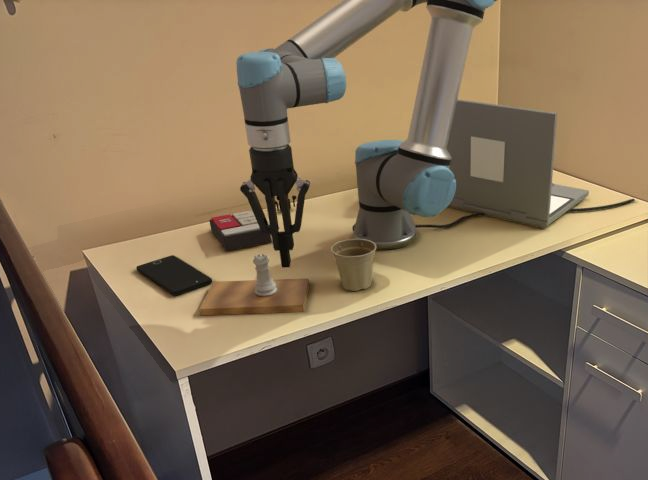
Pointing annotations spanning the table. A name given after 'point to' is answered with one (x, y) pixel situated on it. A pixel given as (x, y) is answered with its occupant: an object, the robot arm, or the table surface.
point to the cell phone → (174, 275)
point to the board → (255, 297)
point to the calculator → (238, 230)
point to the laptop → (507, 164)
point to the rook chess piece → (263, 277)
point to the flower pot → (354, 262)
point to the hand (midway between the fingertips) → (286, 264)
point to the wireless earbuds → (289, 203)
